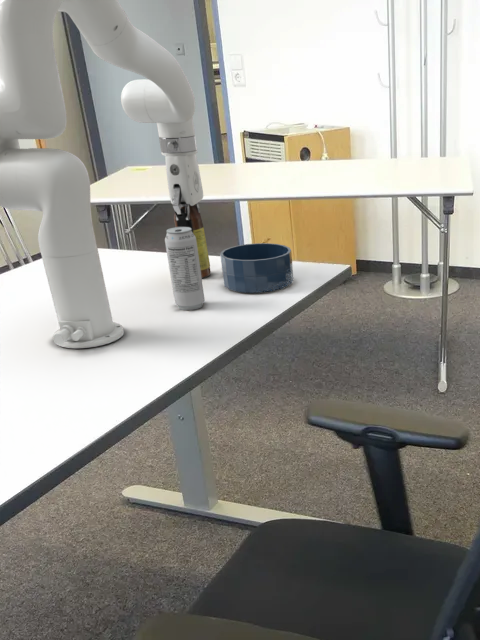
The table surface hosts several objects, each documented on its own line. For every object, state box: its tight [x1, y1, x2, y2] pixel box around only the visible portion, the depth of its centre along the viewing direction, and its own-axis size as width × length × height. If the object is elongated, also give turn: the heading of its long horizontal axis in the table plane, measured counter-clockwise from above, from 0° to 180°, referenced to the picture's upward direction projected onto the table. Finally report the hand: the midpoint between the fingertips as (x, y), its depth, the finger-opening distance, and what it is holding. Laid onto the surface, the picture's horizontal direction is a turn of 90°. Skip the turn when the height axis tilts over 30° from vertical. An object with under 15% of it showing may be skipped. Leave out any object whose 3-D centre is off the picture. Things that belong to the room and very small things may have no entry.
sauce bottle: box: [173, 202, 212, 279], centre depth 171 cm, size 7×6×20 cm
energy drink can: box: [164, 227, 206, 311], centre depth 153 cm, size 6×6×15 cm
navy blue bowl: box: [219, 242, 294, 294], centre depth 167 cm, size 15×15×7 cm
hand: (191, 234), depth 172 cm, fingers closed on sauce bottle, 6 cm apart
